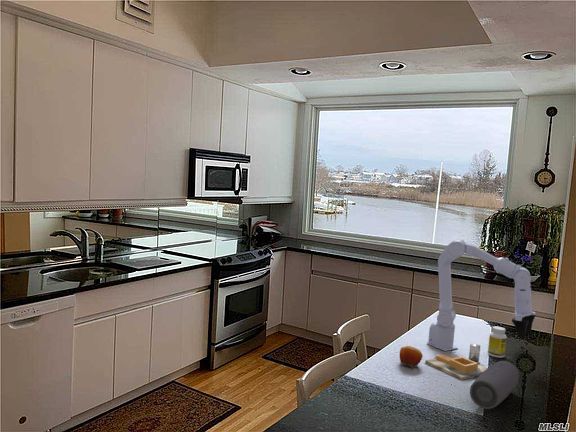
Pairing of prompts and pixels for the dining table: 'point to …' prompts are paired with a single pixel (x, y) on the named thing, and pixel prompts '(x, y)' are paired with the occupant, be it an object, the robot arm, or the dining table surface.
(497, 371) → the bluetooth speaker
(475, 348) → the pin
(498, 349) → the pill bottle
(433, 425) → the dining table surface
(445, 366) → the rosette board
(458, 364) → the bracket
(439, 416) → the dining table surface
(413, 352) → the fruit
